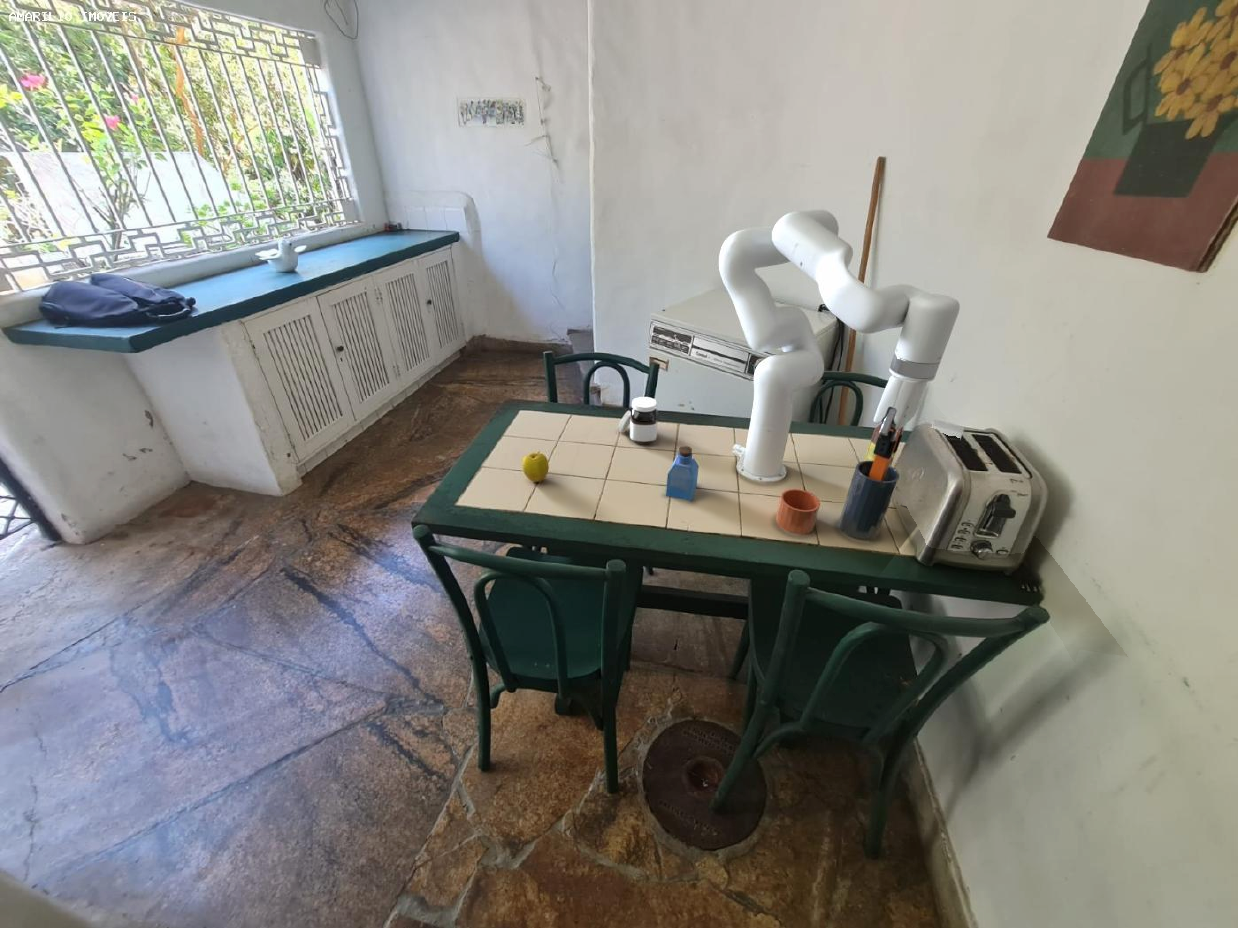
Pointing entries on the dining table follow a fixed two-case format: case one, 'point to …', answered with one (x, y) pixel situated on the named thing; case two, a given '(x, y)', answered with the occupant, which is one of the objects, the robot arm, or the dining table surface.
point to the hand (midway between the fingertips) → (884, 452)
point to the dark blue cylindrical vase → (867, 502)
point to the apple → (535, 466)
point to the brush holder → (797, 511)
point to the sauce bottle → (870, 455)
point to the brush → (881, 464)
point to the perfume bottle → (683, 475)
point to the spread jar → (641, 420)
